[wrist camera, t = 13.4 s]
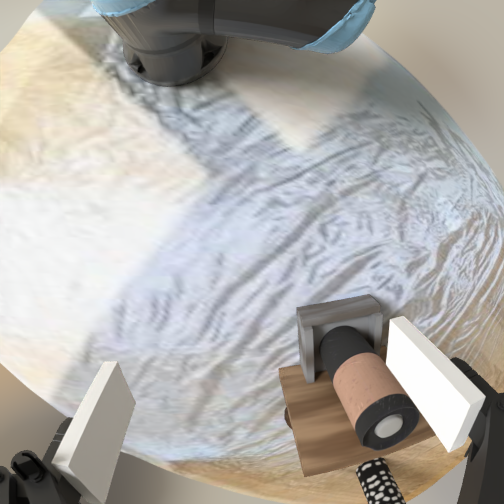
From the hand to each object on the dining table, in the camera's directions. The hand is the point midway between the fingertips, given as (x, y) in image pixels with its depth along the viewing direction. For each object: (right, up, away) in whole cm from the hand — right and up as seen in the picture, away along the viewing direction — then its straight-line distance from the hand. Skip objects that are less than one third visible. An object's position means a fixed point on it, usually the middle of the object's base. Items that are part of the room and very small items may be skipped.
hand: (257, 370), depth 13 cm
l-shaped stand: (+14, -9, +36) cm, 39 cm away
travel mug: (+14, -9, +33) cm, 37 cm away
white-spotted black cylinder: (+31, -52, +48) cm, 77 cm away
